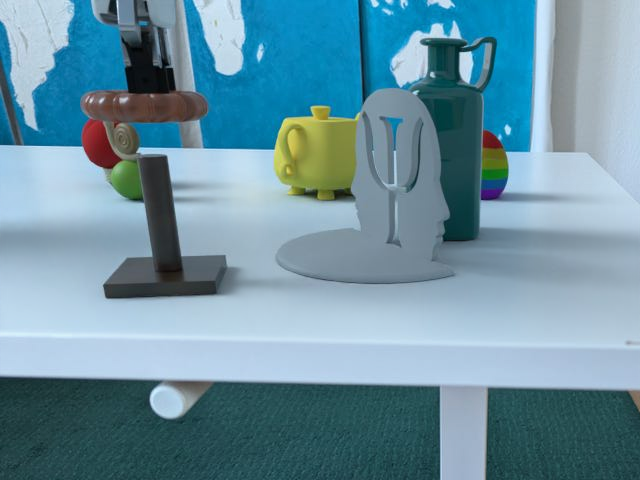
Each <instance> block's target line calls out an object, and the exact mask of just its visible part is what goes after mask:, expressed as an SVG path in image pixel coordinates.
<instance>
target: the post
mask: <svg viewBox="0 0 640 480" xmlns="http://www.w3.org/2000/svg"><path fill="white" fill-rule="evenodd" d="M137 160H138V166H139V172H140V179H141V185H142V192H143V198H142V199H143V204H144V210H145V211H144V212H145V216H146V223H147V230H148V237H149V242H150V249H151V254H152V256H140V257H139V256H138V257H137V256H135V257H134V256H133V257H126V258H125V260H123V262H122V263H121V264H120V265H119V266H118V268H116V270H114V271H113V272H112V274H110V276H109V277H108V278H107V279H106V280H105V282H104V283H103V284H102V287H103V288H102V289H103V292H104V297H105V298H106V299H111V298H113V299H114V298H137V297H141V298H142V297H164V296H165V297H166V296H167V297H168V296H190V295H191V296H192V295H215V294H218V292H219V291H218V290H219V288H220V285H221V282H222V280H223V278H224V275H225V273H226V270H227V267H228V264H227V256H226V254H211V255H210V254H209V255H208V254H207V255H182V251H181V250H182V249H181V244H180V235H179V229H178V221H177V215H176V207H175V200H174V193H173V186H172V179H171V170H170V164H169V157H168V155H167V154H165V153H145V154H144V153H143V154H142V155H138V156H137Z"/></svg>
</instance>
